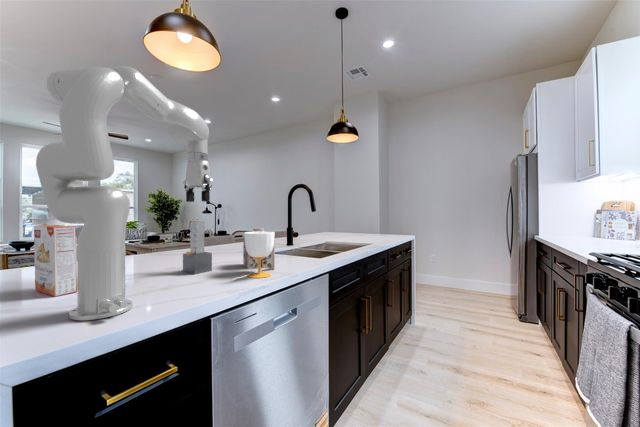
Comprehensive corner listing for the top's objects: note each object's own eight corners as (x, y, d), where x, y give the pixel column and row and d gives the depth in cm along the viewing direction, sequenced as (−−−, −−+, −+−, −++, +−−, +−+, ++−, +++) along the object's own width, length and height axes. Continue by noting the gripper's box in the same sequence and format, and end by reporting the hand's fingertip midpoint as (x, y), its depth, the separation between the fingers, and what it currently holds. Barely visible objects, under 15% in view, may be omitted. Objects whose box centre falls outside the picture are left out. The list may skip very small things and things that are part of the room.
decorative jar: (243, 267, 126) (243, 227, 126) (268, 265, 131) (268, 227, 131) (247, 272, 116) (247, 229, 115) (275, 269, 120) (275, 228, 120)
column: (204, 271, 111) (204, 221, 111) (194, 273, 108) (194, 221, 108) (198, 270, 113) (198, 221, 113) (189, 272, 110) (188, 221, 109)
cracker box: (33, 291, 88) (32, 225, 88) (58, 286, 93) (57, 224, 93) (52, 297, 81) (52, 226, 81) (78, 292, 87) (77, 225, 86)
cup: (277, 272, 115) (277, 231, 115) (269, 279, 103) (270, 233, 103) (250, 271, 116) (250, 231, 116) (239, 278, 104) (239, 233, 104)
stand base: (220, 273, 113) (219, 250, 113) (193, 279, 103) (193, 253, 103) (201, 270, 119) (201, 248, 119) (174, 275, 109) (174, 251, 109)
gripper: (219, 158, 109) (220, 201, 110) (192, 161, 118) (192, 202, 119) (203, 154, 103) (203, 201, 103) (175, 159, 112) (176, 201, 112)
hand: (197, 201), depth 111 cm, fingers open, 9 cm apart
